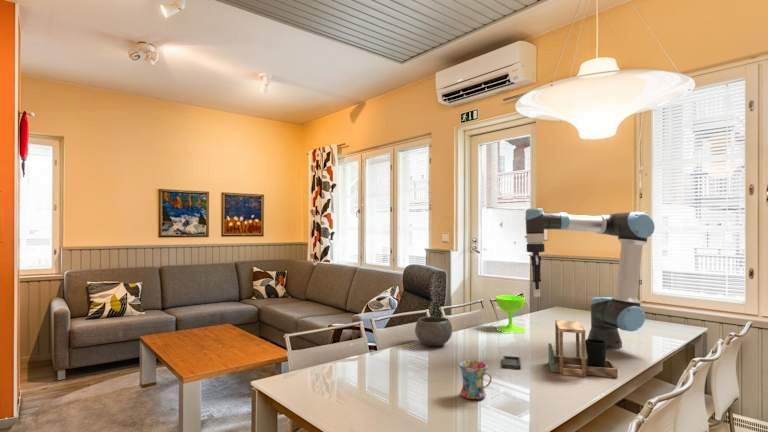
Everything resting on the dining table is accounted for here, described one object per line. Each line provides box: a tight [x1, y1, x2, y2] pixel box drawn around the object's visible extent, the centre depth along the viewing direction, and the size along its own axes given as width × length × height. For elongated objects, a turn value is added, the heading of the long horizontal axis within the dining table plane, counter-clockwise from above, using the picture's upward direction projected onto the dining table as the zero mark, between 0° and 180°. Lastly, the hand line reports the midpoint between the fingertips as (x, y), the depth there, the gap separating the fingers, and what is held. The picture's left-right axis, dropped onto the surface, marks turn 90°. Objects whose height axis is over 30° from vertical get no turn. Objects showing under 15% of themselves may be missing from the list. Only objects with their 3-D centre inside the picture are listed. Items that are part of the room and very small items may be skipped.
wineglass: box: [495, 295, 526, 333], centre depth 239 cm, size 16×16×18 cm
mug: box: [458, 360, 493, 400], centre depth 144 cm, size 12×9×11 cm
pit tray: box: [502, 355, 522, 370], centre depth 179 cm, size 7×12×2 cm, turn 163°
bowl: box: [414, 316, 453, 347], centre depth 209 cm, size 18×18×13 cm
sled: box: [547, 342, 619, 378], centre depth 172 cm, size 24×12×8 cm, turn 74°
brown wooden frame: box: [554, 319, 587, 378], centre depth 173 cm, size 9×16×18 cm, turn 164°
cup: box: [585, 338, 607, 368], centre depth 170 cm, size 8×8×12 cm
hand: (537, 296), depth 190 cm, fingers closed
